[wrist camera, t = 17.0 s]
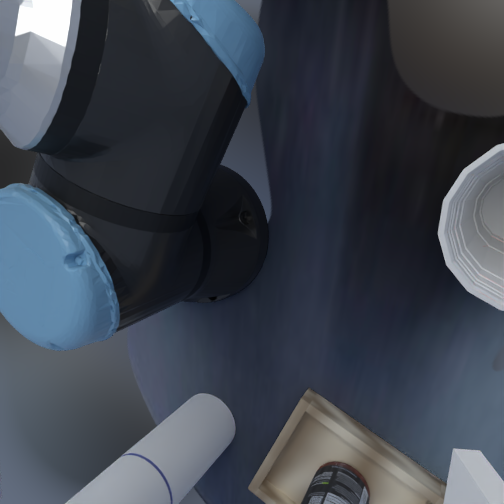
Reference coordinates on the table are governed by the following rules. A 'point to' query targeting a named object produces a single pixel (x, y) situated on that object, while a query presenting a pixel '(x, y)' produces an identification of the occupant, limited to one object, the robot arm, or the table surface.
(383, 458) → the tray
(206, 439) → the cylindrical container
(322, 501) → the supplement bottle
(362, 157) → the table surface
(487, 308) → the table surface
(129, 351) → the table surface
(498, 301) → the plastic cup
